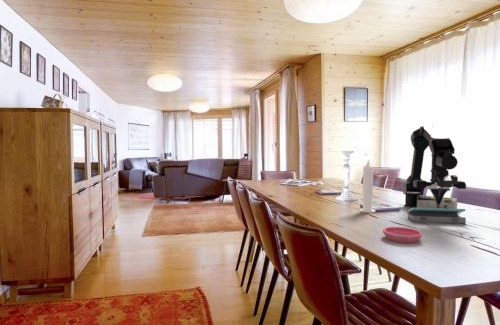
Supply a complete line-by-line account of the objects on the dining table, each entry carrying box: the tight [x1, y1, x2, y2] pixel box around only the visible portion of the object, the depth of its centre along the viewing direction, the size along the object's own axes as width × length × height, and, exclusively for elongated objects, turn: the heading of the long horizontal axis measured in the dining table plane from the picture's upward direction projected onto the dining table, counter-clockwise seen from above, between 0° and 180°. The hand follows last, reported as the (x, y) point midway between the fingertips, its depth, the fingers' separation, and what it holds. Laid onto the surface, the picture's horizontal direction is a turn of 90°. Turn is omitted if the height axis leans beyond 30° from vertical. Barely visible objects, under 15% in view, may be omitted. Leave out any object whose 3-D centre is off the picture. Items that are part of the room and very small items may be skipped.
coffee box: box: [416, 194, 458, 209], centre depth 163 cm, size 9×6×16 cm
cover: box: [407, 207, 466, 215], centre depth 143 cm, size 8×20×1 cm, turn 80°
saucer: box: [382, 226, 423, 244], centre depth 116 cm, size 12×12×3 cm
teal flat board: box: [407, 211, 467, 225], centre depth 142 cm, size 9×20×2 cm, turn 80°
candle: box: [359, 159, 376, 214], centre depth 161 cm, size 7×7×25 cm
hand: (438, 204), depth 140 cm, fingers closed
